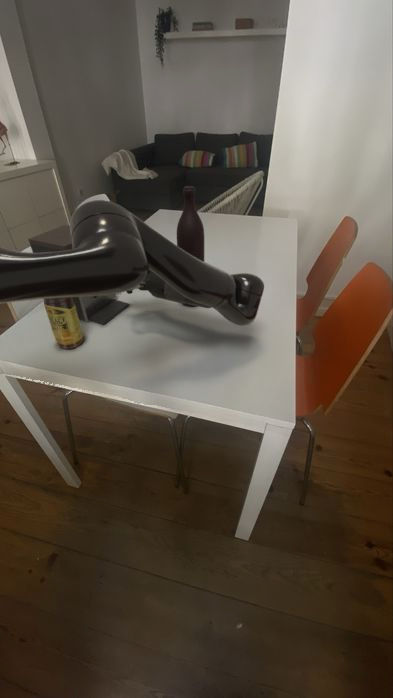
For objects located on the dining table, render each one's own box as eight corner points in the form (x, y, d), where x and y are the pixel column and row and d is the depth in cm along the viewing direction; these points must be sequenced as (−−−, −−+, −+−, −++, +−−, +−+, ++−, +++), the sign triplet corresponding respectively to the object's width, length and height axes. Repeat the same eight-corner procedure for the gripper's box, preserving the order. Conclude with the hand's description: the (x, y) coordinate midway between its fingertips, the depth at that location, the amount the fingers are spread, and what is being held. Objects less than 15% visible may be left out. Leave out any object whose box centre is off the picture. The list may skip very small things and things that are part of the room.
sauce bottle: (52, 347, 76) (22, 268, 64) (70, 333, 80) (45, 257, 68) (73, 353, 74) (47, 273, 61) (91, 338, 78) (69, 261, 66)
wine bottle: (187, 293, 96) (183, 182, 77) (208, 298, 93) (209, 185, 75) (175, 303, 91) (168, 188, 72) (197, 309, 88) (195, 191, 70)
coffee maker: (130, 305, 91) (118, 233, 78) (102, 326, 82) (84, 250, 70) (82, 292, 97) (64, 224, 85) (52, 310, 89) (27, 238, 77)
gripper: (187, 257, 74) (127, 247, 80) (157, 281, 65) (91, 267, 71) (189, 287, 79) (132, 274, 85) (160, 312, 69) (99, 296, 76)
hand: (113, 271), depth 78 cm, fingers closed
